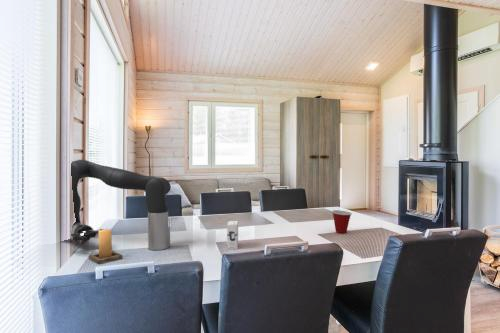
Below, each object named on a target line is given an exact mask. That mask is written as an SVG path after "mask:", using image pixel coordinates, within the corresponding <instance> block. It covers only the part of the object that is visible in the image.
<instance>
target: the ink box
mask: <svg viewBox="0 0 500 333" xmlns="http://www.w3.org/2000/svg"><path fill="white" fill-rule="evenodd" d="M226 232H227V234H226V241H227V244H226V247H227V248H226V249H227V250H238V248H239V220H229V221H228V222H227V224H226Z"/></svg>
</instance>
